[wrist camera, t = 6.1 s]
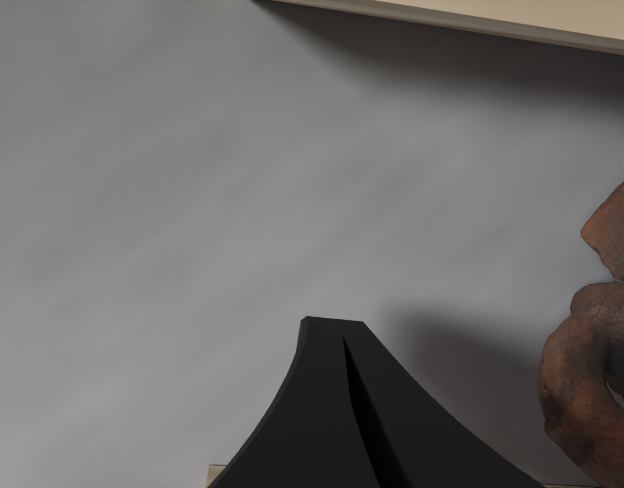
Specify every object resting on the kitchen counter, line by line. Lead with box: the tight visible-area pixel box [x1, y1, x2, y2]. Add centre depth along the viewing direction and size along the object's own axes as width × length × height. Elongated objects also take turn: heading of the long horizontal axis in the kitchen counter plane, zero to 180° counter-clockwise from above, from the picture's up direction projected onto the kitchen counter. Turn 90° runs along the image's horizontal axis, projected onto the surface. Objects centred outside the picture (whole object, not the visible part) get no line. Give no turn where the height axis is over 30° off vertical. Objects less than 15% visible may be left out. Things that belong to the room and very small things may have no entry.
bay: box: [205, 0, 624, 488], centre depth 13 cm, size 17×22×4 cm
